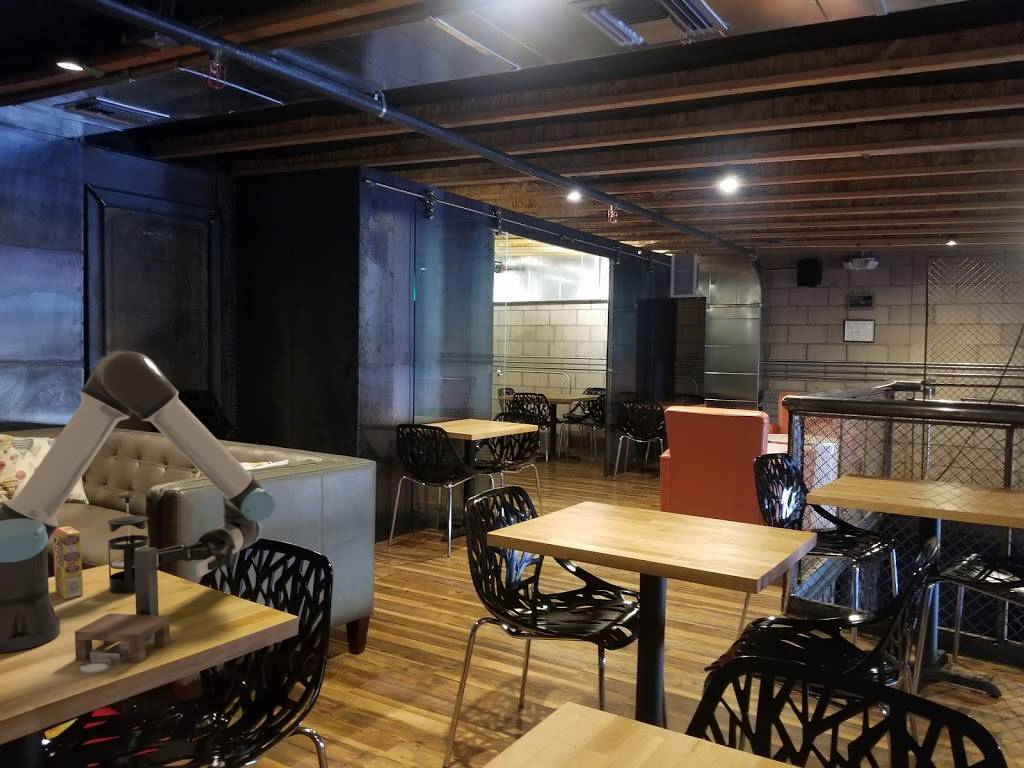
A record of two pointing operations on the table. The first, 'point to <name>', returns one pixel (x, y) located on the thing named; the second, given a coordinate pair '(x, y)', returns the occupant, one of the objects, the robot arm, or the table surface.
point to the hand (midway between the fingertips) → (167, 569)
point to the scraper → (138, 600)
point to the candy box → (67, 562)
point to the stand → (123, 634)
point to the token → (95, 666)
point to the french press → (125, 550)
